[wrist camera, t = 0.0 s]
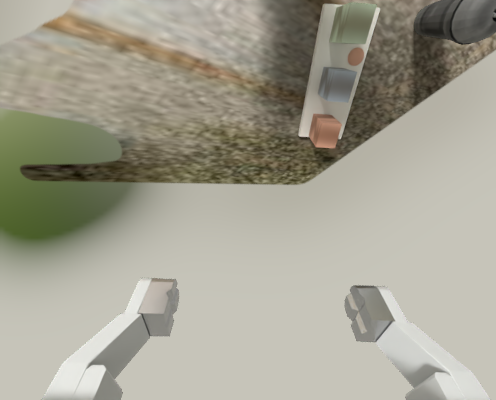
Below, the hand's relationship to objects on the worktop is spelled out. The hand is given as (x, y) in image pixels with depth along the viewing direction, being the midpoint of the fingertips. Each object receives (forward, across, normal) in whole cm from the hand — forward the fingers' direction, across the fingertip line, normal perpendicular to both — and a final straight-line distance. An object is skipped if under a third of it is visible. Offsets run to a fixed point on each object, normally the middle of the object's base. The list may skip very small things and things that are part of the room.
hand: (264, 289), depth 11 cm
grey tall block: (+46, -16, -4) cm, 49 cm away
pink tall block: (+46, -16, +5) cm, 49 cm away
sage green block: (+46, -16, -13) cm, 50 cm away
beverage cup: (+48, -32, -15) cm, 60 cm away
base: (+48, -17, -4) cm, 51 cm away
